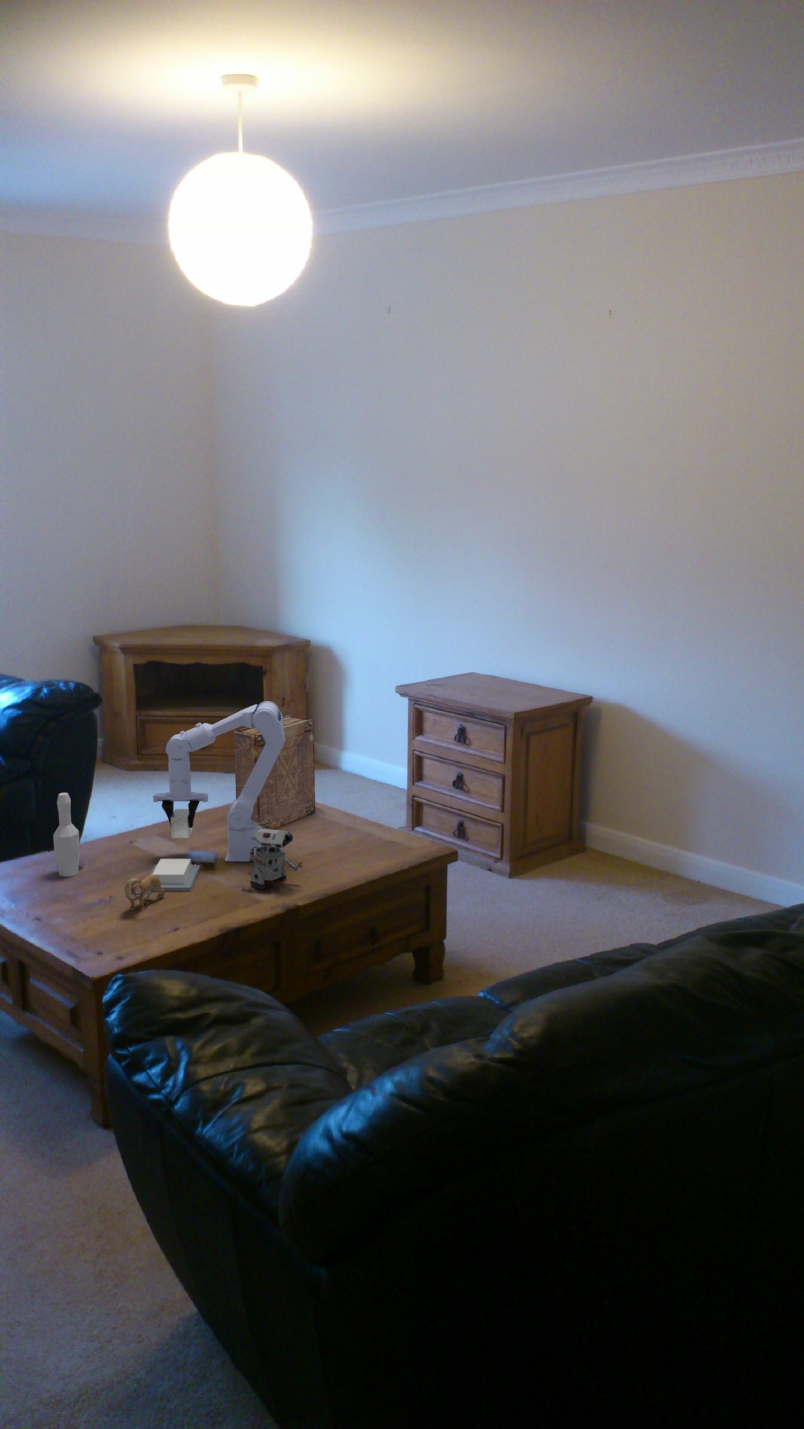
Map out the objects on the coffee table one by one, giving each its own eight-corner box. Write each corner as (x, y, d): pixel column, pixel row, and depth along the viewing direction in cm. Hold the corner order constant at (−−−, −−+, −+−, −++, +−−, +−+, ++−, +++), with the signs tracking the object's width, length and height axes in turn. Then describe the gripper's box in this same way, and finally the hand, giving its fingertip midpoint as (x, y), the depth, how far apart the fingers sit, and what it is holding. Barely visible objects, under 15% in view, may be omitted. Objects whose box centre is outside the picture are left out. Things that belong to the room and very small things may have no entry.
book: (292, 807, 344) (291, 714, 336) (315, 813, 338) (314, 718, 331) (236, 829, 323) (233, 731, 316) (259, 835, 318) (257, 736, 311)
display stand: (200, 867, 294) (199, 855, 293) (190, 891, 278) (189, 878, 277) (155, 867, 293) (154, 855, 293) (142, 891, 278) (142, 878, 277)
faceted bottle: (74, 878, 286) (68, 798, 280) (51, 877, 287) (45, 796, 282) (85, 870, 292) (80, 791, 286) (63, 868, 293) (58, 789, 288)
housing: (192, 829, 303) (191, 808, 302) (188, 838, 296) (187, 817, 295) (176, 829, 303) (175, 808, 302) (171, 838, 296) (170, 817, 295)
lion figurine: (140, 918, 262) (138, 882, 260) (120, 915, 264) (118, 880, 262) (169, 894, 276) (167, 861, 274) (150, 892, 277) (148, 858, 275)
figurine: (277, 896, 276) (276, 839, 272) (246, 884, 282) (244, 829, 279) (302, 885, 282) (302, 830, 279) (271, 874, 289) (270, 820, 286)
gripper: (209, 774, 300) (210, 821, 303) (155, 774, 300) (158, 821, 303) (205, 782, 293) (206, 830, 296) (150, 782, 293) (153, 830, 296)
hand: (181, 826), depth 299 cm, fingers closed on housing, 4 cm apart
